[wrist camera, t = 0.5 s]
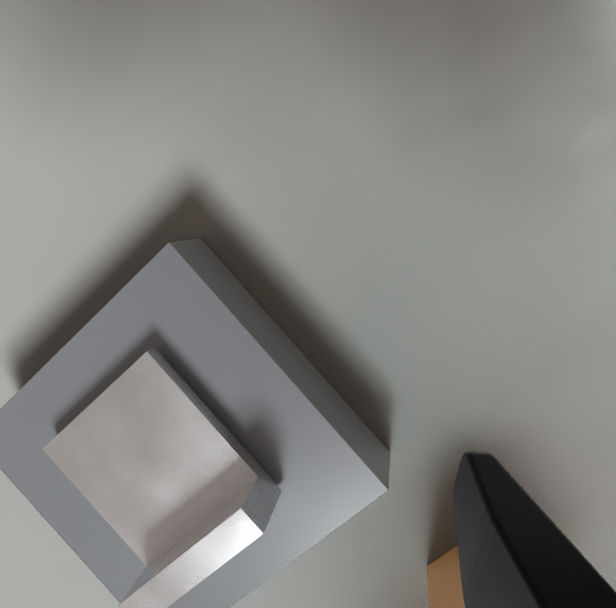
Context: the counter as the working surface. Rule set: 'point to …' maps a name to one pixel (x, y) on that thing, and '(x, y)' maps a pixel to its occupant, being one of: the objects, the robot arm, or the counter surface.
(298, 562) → the counter surface
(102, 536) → the socket
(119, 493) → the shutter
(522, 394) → the counter surface
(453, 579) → the plug
